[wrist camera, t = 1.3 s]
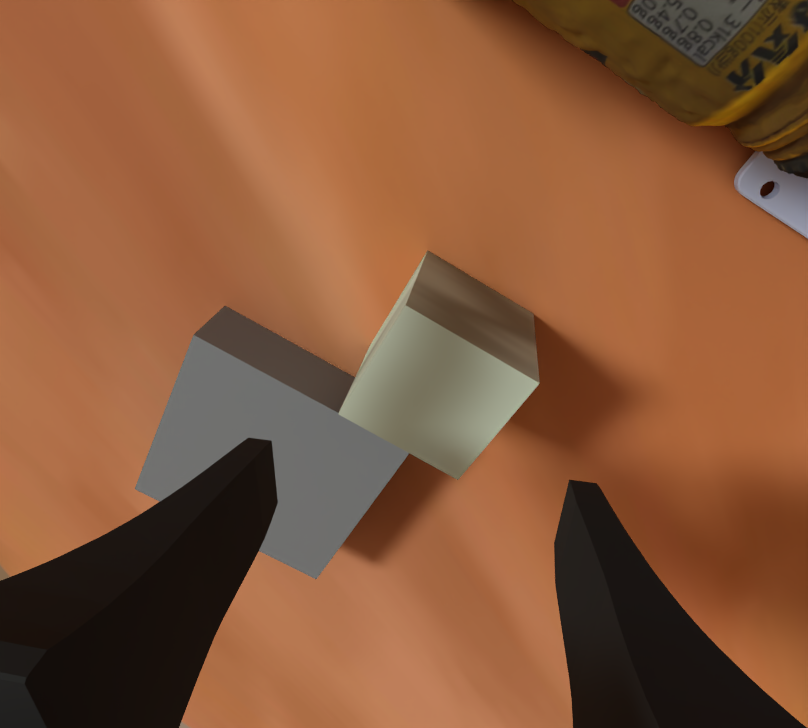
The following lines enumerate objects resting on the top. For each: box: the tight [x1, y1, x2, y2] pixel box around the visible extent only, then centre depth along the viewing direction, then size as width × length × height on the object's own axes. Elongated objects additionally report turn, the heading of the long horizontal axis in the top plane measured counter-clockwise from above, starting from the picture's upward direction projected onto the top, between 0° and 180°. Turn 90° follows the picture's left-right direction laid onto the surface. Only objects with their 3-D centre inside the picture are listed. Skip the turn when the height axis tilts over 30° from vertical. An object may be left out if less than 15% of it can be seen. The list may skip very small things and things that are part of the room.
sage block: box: [338, 251, 540, 480], centre depth 19 cm, size 4×4×5 cm
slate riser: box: [135, 306, 409, 579], centre depth 24 cm, size 9×9×3 cm
